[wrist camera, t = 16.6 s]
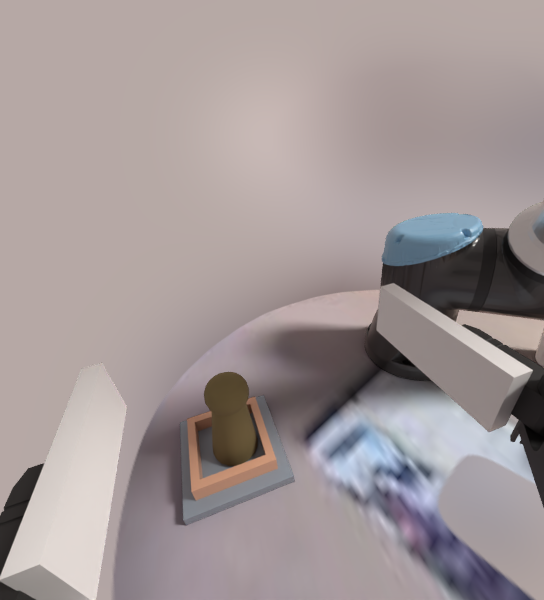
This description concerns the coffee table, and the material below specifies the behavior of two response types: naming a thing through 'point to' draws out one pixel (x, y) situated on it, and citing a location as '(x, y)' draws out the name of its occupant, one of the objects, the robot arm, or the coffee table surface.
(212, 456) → the pallet plate
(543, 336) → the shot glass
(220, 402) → the cork
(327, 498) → the coffee table surface
